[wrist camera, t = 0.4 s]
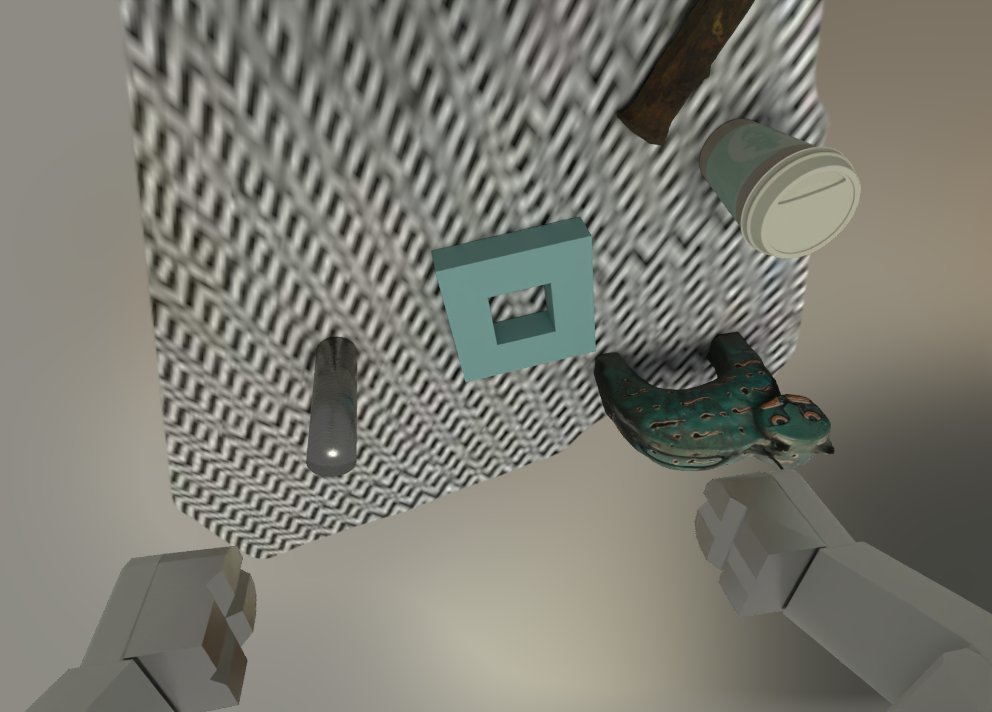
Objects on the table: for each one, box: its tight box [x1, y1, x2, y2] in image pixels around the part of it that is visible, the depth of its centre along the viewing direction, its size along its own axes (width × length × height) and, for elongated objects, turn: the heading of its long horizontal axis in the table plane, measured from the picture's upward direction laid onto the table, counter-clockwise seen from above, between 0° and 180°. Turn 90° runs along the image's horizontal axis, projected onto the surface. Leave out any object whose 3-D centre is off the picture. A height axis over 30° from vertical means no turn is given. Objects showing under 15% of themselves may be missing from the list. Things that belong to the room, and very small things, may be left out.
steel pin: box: [306, 337, 357, 477], centre depth 51 cm, size 4×4×14 cm
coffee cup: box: [699, 119, 861, 258], centre depth 44 cm, size 8×9×12 cm
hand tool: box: [617, 0, 755, 146], centre depth 39 cm, size 19×4×5 cm, turn 149°
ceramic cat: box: [594, 332, 835, 471], centre depth 58 cm, size 20×6×20 cm, turn 92°
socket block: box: [432, 217, 595, 382], centre depth 54 cm, size 14×14×4 cm
